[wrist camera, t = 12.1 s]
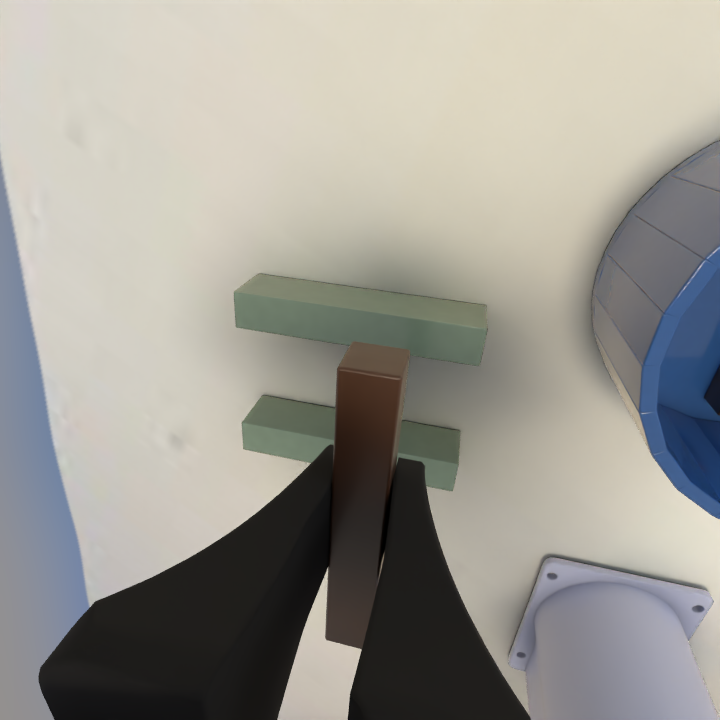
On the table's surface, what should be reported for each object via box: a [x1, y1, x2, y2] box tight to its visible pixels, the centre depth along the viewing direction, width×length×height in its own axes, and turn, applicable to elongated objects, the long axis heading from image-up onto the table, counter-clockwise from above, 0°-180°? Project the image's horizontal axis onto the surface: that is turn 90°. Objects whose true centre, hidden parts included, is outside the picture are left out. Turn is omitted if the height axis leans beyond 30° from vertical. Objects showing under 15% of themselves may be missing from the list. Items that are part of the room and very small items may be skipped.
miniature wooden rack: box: [234, 274, 488, 491], centre depth 21 cm, size 8×10×2 cm
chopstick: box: [325, 341, 410, 649], centre depth 12 cm, size 9×1×1 cm, turn 176°
